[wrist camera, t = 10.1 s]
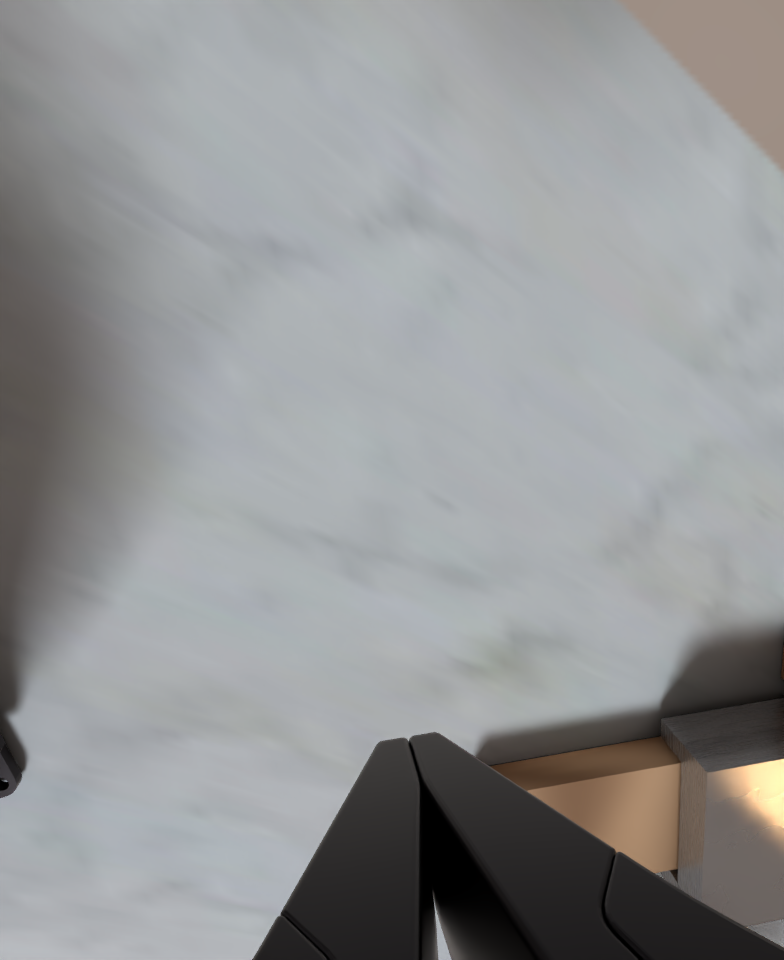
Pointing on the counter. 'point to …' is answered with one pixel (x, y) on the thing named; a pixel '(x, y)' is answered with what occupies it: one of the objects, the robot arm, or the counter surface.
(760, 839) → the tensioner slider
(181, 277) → the counter surface
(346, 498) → the counter surface
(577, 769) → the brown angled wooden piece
